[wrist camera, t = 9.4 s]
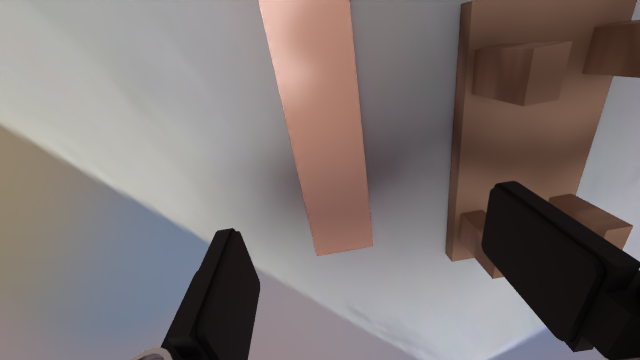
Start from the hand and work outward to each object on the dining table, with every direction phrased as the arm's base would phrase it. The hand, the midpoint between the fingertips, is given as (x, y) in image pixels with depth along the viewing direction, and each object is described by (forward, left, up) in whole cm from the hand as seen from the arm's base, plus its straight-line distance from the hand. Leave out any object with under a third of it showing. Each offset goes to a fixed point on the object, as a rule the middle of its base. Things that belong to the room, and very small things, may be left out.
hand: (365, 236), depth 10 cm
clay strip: (+1, -3, -9) cm, 10 cm away
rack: (-12, +2, -9) cm, 15 cm away
